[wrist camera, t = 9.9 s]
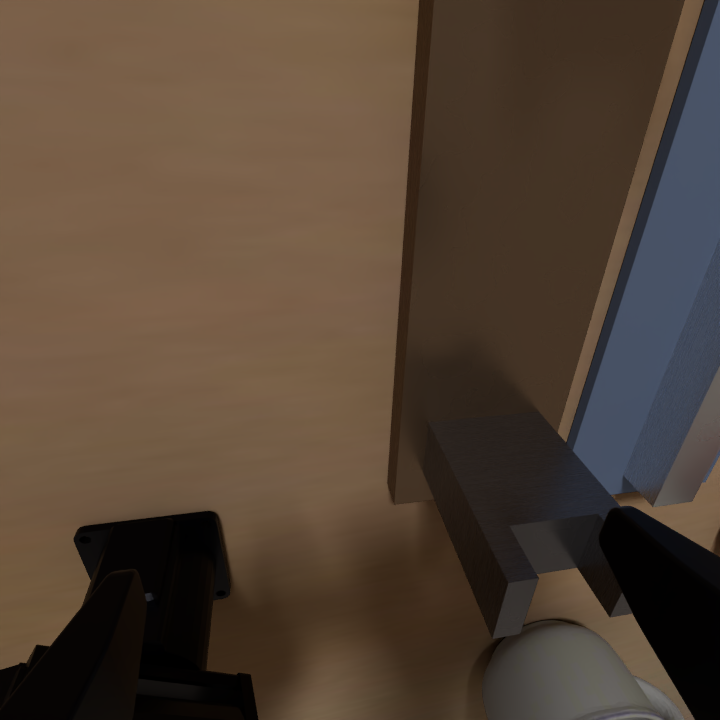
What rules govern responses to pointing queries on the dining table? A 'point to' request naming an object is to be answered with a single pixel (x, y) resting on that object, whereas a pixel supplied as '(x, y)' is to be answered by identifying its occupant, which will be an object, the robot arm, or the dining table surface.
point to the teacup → (567, 679)
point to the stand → (514, 274)
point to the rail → (684, 407)
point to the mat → (657, 269)
